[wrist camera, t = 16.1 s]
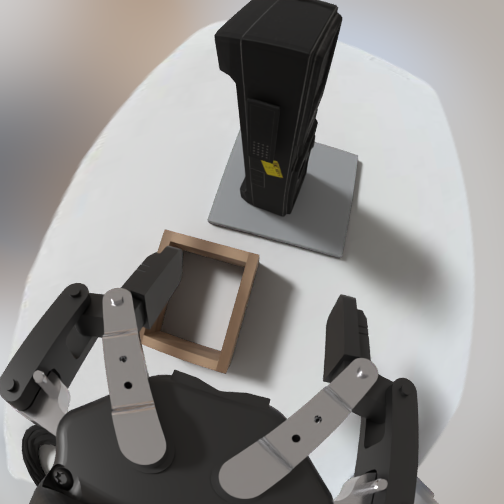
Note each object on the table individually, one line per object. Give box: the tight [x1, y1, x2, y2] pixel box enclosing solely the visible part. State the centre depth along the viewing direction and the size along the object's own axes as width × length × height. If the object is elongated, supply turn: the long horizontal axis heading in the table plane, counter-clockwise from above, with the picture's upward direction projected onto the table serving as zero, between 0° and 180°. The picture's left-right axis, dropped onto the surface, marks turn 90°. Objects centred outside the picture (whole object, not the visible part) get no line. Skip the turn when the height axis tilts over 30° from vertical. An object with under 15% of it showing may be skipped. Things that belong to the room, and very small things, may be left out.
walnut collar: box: [139, 230, 259, 374], centre depth 28 cm, size 10×12×5 cm
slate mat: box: [208, 128, 358, 258], centre depth 32 cm, size 16×14×1 cm
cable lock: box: [22, 425, 56, 486], centre depth 23 cm, size 28×4×30 cm
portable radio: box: [215, 0, 342, 217], centre depth 19 cm, size 8×6×25 cm
